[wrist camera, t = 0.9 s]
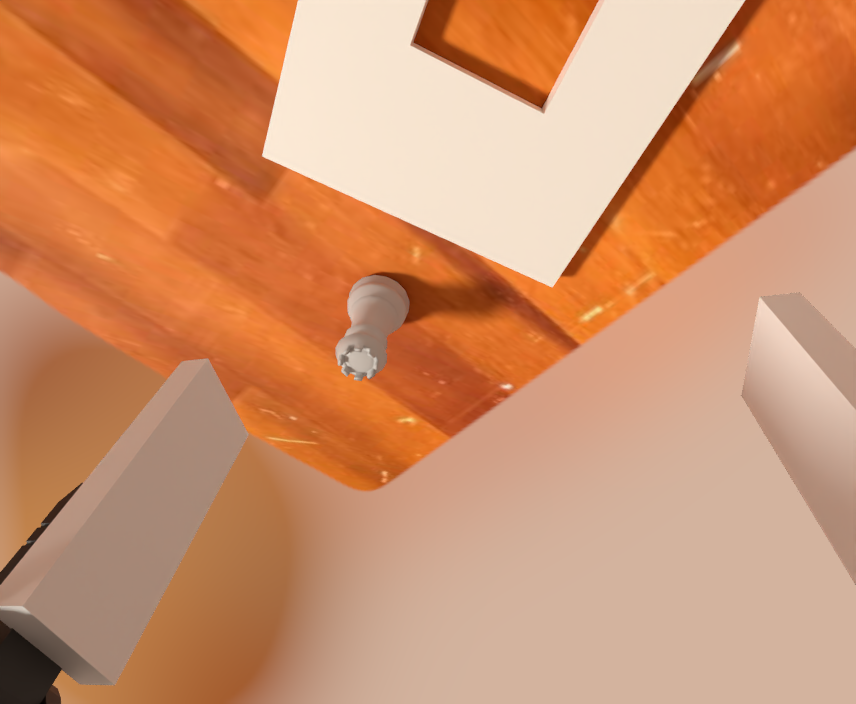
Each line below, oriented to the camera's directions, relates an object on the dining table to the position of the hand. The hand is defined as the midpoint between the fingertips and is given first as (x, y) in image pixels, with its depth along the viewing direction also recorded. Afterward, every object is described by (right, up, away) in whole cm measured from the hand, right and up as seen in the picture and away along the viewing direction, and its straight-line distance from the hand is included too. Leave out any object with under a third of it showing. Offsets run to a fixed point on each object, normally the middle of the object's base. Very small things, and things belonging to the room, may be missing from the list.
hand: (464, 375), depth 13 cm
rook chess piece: (-4, +5, +25) cm, 26 cm away
